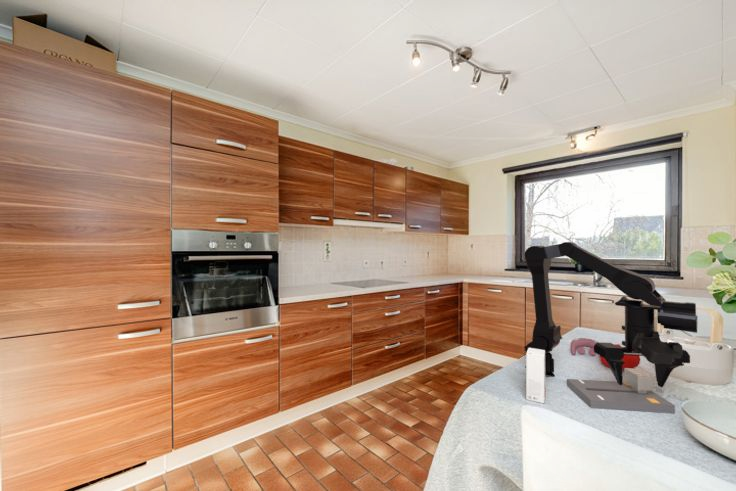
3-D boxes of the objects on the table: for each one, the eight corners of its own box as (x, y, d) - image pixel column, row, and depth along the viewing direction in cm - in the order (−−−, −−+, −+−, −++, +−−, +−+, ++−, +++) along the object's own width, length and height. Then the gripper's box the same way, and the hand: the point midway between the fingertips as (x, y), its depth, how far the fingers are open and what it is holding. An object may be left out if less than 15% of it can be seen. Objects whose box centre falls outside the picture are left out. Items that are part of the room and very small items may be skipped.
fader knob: (637, 395, 77) (637, 375, 77) (624, 386, 82) (624, 368, 82) (655, 397, 76) (655, 376, 76) (641, 387, 81) (641, 368, 81)
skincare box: (545, 404, 77) (544, 356, 77) (526, 399, 80) (525, 353, 80) (546, 394, 83) (545, 349, 83) (528, 390, 85) (527, 347, 85)
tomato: (644, 368, 99) (644, 348, 99) (631, 376, 93) (631, 354, 93) (608, 359, 108) (607, 340, 108) (594, 366, 102) (593, 346, 102)
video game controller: (603, 361, 109) (602, 341, 112) (605, 359, 106) (603, 338, 108) (570, 356, 114) (569, 337, 117) (570, 354, 111) (570, 334, 114)
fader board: (590, 407, 75) (590, 399, 75) (567, 385, 87) (567, 378, 87) (674, 413, 73) (674, 404, 73) (638, 389, 84) (638, 382, 84)
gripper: (619, 332, 73) (619, 398, 73) (711, 335, 70) (711, 404, 70) (592, 320, 84) (593, 378, 84) (671, 322, 81) (671, 382, 81)
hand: (639, 385), depth 79 cm, fingers open, 9 cm apart
